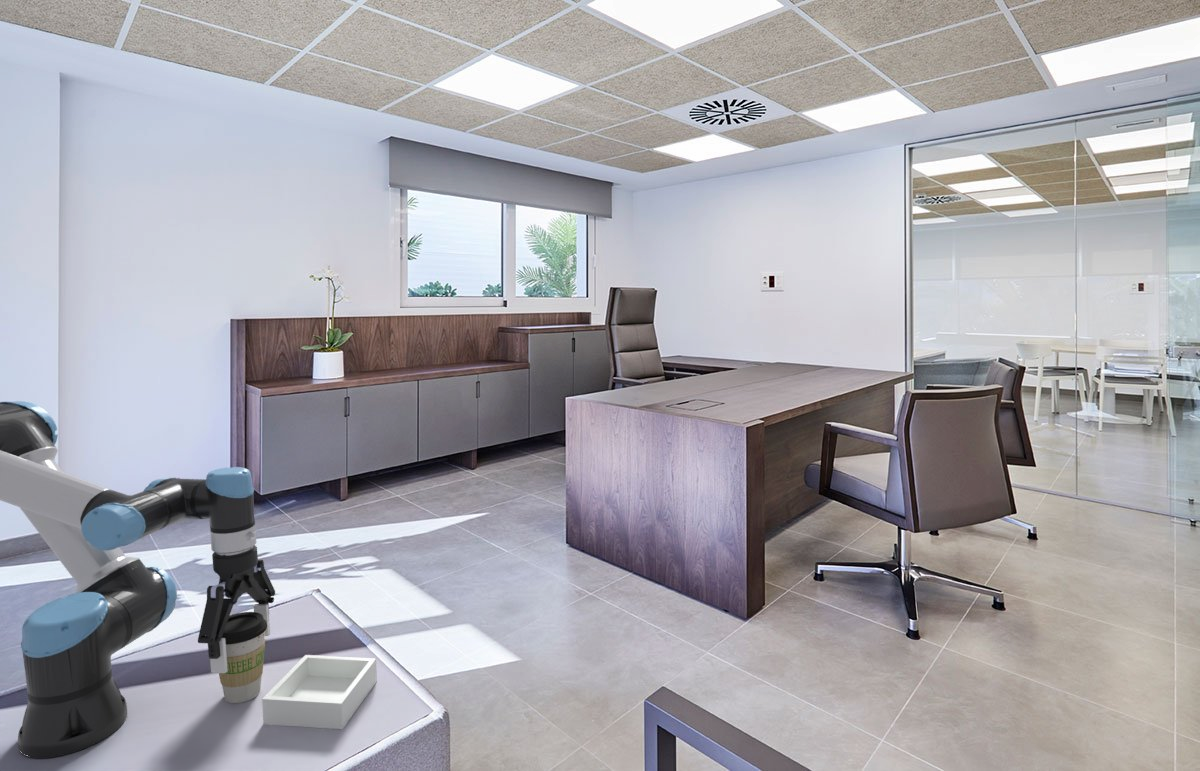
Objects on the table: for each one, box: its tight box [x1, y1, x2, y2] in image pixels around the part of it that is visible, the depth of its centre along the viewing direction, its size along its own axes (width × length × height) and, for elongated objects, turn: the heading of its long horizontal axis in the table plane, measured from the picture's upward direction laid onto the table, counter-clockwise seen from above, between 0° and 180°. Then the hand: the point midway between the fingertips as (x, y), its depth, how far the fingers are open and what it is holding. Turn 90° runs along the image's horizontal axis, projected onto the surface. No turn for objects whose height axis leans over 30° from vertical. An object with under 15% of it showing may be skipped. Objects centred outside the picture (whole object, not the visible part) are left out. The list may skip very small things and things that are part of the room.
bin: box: [261, 654, 378, 730], centre depth 124 cm, size 15×15×5 cm
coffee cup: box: [216, 611, 267, 704], centre depth 125 cm, size 10×10×15 cm
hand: (242, 652), depth 125 cm, fingers open, 13 cm apart
